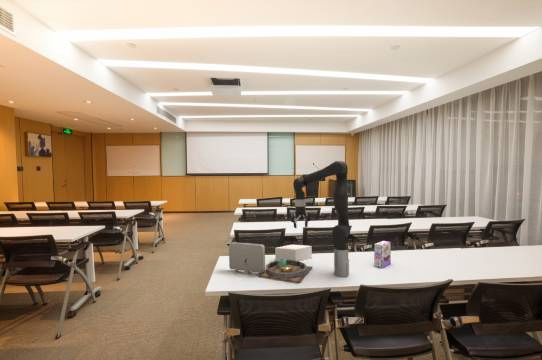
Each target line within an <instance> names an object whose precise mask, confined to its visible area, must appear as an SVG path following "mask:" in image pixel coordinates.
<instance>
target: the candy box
mask: <svg viewBox="0 0 542 360" xmlns="http://www.w3.org/2000/svg"><path fill="white" fill-rule="evenodd" d="M373 246H374V247H373V248H374V252H373V255H374V256H373V257H374V258H373V259H374V261H373V262H374V267H375V268H376V267H377V268H380V269H383V268H386V267H387V266H389V265H391V264H392V263H391V261H392V260H391V258H392V257H391V253H392V252H391V241H386V240H382V241H379V242H377V243H374V244H373Z"/></svg>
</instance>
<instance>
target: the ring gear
mask: <svg viewBox="0 0 542 360" xmlns="http://www.w3.org/2000/svg"><path fill="white" fill-rule="evenodd" d="M286 264H287V265H289V264H290V265H295V266H300V267H301V268H303V270H300V271H298V272H293V273H285V272H283V273H279V272H276V271H272V270H271V269H270V268H271V267H274V266H276V265H278V260H277V261H276V260H274V261H270V262H268V263H267V264H265V270H266V272H267V274H268V275H270V276H272V277H277V278H283V279H286V278H297V277H300V276H303V275H305V274H306V272H307V266H308V265H306V263H305V262H303V261H301V262H300V261H295V260H286Z"/></svg>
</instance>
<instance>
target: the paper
mask: <svg viewBox="0 0 542 360" xmlns="http://www.w3.org/2000/svg"><path fill="white" fill-rule="evenodd" d="M274 250H275V252H274V255H275V258H274V261H277V260H278V259H286V260H295V261H301V262H304V260H305V261H308V259H309V260H312V259H313V256H312V255H313V253H312V250H313V249H312V245H305V244H304V245H303V244H287V245H283V246H279V247H274Z"/></svg>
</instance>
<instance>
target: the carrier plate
mask: <svg viewBox="0 0 542 360" xmlns="http://www.w3.org/2000/svg"><path fill="white" fill-rule="evenodd" d="M286 265H287V264H286ZM289 266H293V271H292V272H290V273H293V272H298V271H300V270H303V268H301V267H300V266H295V265H290V264H289ZM306 266H307V272H306V274H305V275H303V276H300V277H297V278H286V279H283V278H277V277H272V276H270V275H268V274H267V272H266V269H265V271H263V272H262V273H261V274H259V275H258V278H263V279H269V280H275V281H280V282H286V283H293V284H299V285H300V283H302V281H303V280H304V279H305V278H306V277H307V276H308V274H309V273H310V272H311V271H312V270H313V266H310V265H306ZM270 269H271V270H272V271H276V272H279V273H283V272H280V268H278V265H276V266H274V267H271V268H270ZM285 273H288V272H285Z"/></svg>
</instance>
